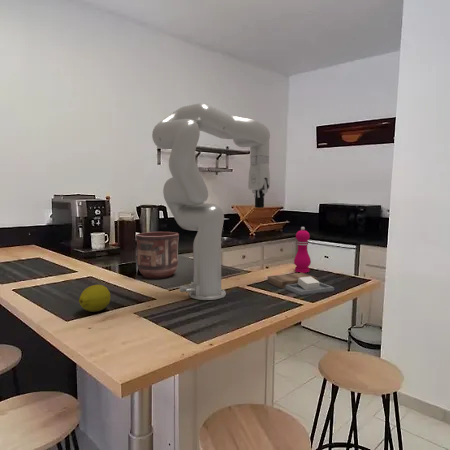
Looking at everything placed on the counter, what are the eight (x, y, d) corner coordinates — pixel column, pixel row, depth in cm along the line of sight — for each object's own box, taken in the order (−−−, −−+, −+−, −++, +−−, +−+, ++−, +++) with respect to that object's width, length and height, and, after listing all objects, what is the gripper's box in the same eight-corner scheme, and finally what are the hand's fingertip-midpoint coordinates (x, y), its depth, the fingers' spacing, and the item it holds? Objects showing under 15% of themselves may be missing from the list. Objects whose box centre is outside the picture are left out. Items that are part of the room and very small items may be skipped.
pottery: (175, 280, 151) (175, 236, 150) (132, 280, 152) (131, 236, 150) (181, 271, 169) (181, 231, 168) (142, 271, 169) (142, 231, 168)
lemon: (102, 304, 120) (101, 280, 119) (118, 309, 116) (117, 283, 115) (71, 313, 111) (70, 287, 111) (86, 319, 107) (85, 291, 106)
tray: (301, 295, 129) (301, 291, 129) (285, 289, 138) (285, 284, 138) (334, 291, 135) (334, 287, 134) (316, 284, 144) (316, 281, 144)
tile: (306, 290, 134) (307, 283, 134) (297, 284, 139) (298, 277, 139) (318, 288, 137) (319, 282, 136) (309, 282, 141) (310, 276, 141)
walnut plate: (281, 288, 139) (281, 281, 138) (267, 282, 148) (267, 276, 147) (317, 284, 145) (317, 277, 145) (301, 278, 154) (301, 272, 154)
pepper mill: (291, 272, 166) (292, 227, 164) (296, 269, 172) (297, 225, 170) (308, 273, 163) (308, 227, 161) (312, 270, 169) (313, 226, 167)
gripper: (242, 162, 155) (242, 207, 157) (260, 159, 141) (260, 208, 143) (258, 162, 158) (258, 206, 160) (277, 160, 144) (277, 208, 146)
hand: (259, 207), depth 151 cm, fingers closed
